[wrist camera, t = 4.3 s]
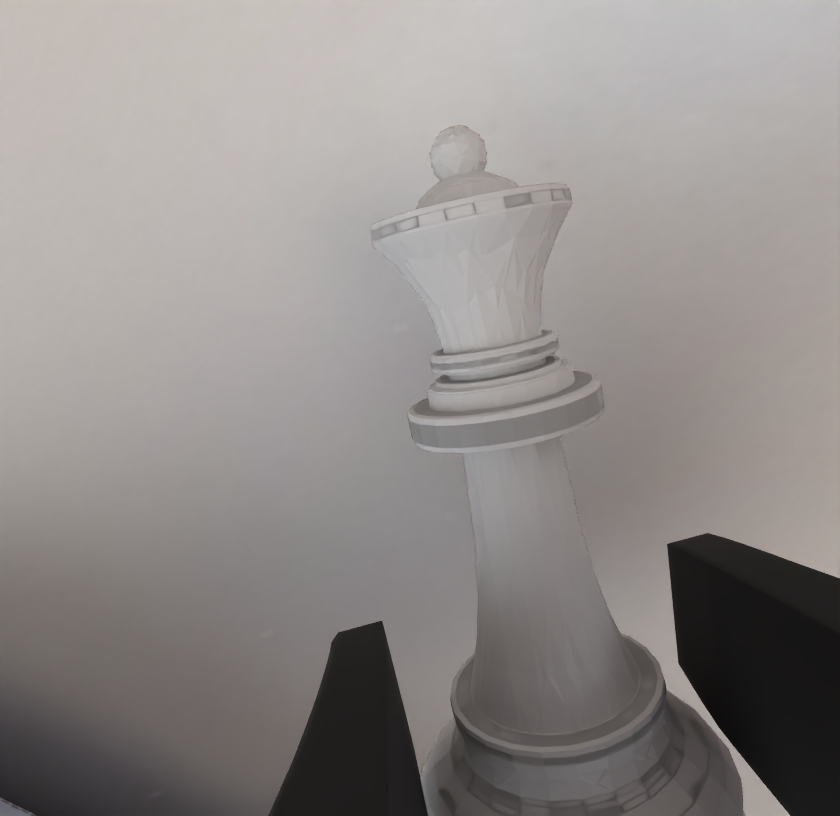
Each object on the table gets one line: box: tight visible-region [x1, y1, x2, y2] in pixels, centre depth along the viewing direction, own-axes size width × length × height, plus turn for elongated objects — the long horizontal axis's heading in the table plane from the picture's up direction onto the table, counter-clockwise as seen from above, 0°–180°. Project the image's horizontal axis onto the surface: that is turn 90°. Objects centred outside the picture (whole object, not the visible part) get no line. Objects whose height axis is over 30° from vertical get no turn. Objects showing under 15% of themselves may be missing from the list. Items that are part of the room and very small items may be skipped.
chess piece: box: [371, 125, 745, 816], centre depth 9 cm, size 4×4×10 cm
